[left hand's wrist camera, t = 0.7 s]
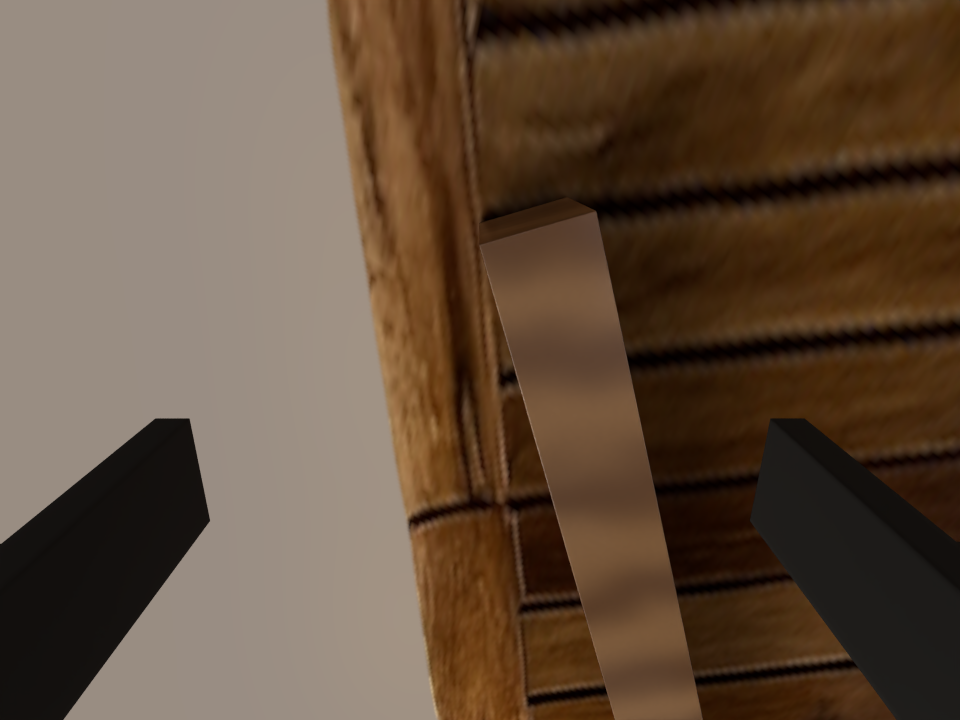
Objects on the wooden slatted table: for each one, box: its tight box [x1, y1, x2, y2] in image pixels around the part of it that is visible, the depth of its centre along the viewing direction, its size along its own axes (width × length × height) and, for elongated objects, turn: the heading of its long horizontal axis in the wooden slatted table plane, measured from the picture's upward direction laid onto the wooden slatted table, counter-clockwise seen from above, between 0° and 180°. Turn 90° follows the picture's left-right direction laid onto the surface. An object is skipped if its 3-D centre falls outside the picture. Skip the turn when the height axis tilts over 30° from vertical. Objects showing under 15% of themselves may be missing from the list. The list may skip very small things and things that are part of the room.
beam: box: [479, 197, 703, 720], centre depth 33 cm, size 47×5×7 cm, turn 16°
